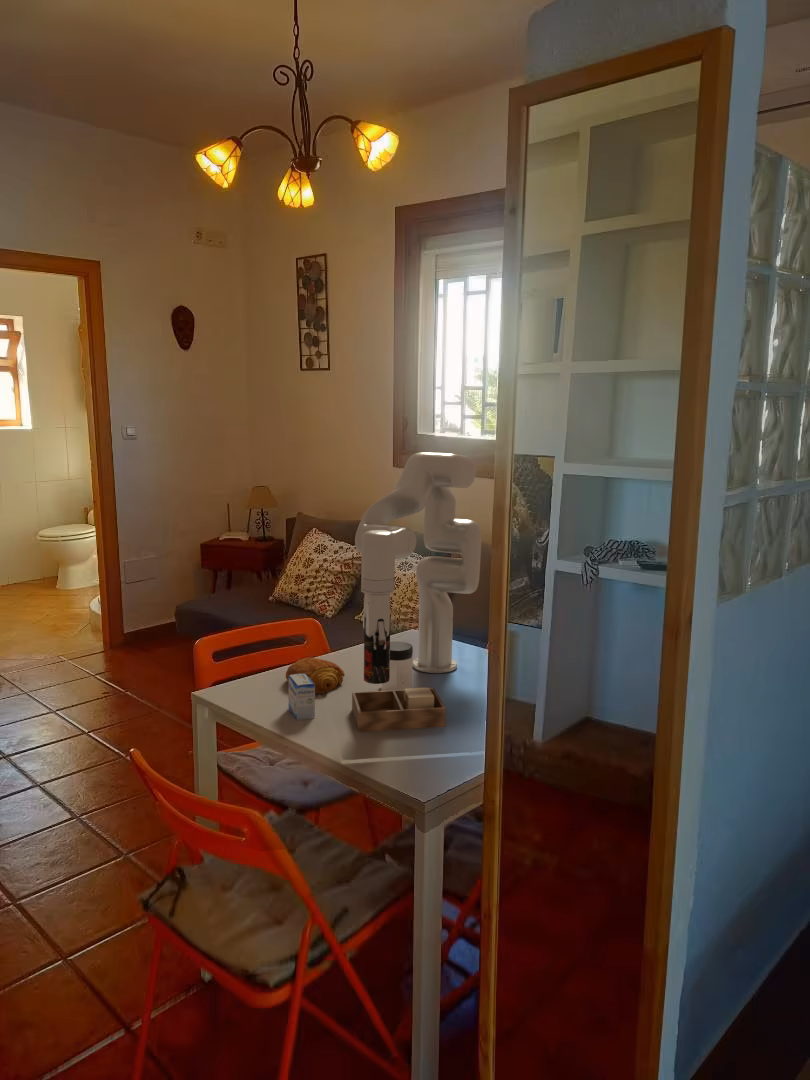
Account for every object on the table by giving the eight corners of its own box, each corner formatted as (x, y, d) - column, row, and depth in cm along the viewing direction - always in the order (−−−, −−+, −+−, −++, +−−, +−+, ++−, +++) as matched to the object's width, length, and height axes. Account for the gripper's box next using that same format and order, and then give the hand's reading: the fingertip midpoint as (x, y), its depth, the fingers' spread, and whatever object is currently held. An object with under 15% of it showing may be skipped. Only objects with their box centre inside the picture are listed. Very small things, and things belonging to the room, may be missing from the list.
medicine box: (288, 708, 191) (287, 674, 190) (306, 706, 193) (305, 672, 192) (297, 720, 184) (296, 685, 183) (315, 718, 186) (315, 683, 185)
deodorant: (392, 682, 181) (393, 619, 178) (367, 684, 179) (367, 620, 176) (385, 674, 186) (386, 612, 184) (361, 676, 185) (361, 614, 182)
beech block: (403, 712, 189) (404, 688, 188) (428, 711, 190) (428, 687, 189) (408, 722, 183) (408, 697, 182) (433, 720, 184) (434, 696, 183)
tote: (358, 734, 177) (358, 713, 176) (352, 712, 190) (352, 692, 189) (445, 728, 181) (445, 708, 180) (433, 707, 193) (433, 688, 193)
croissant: (304, 706, 199) (305, 678, 196) (277, 680, 211) (278, 653, 209) (353, 694, 207) (355, 666, 205) (324, 669, 219) (326, 643, 217)
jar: (390, 698, 199) (390, 652, 197) (373, 688, 206) (373, 644, 204) (419, 692, 204) (420, 647, 202) (402, 682, 211) (402, 639, 209)
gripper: (356, 577, 187) (356, 650, 190) (366, 594, 170) (365, 674, 173) (388, 576, 188) (387, 649, 191) (400, 593, 171) (399, 673, 174)
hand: (376, 660), depth 182 cm, fingers closed on deodorant, 5 cm apart
